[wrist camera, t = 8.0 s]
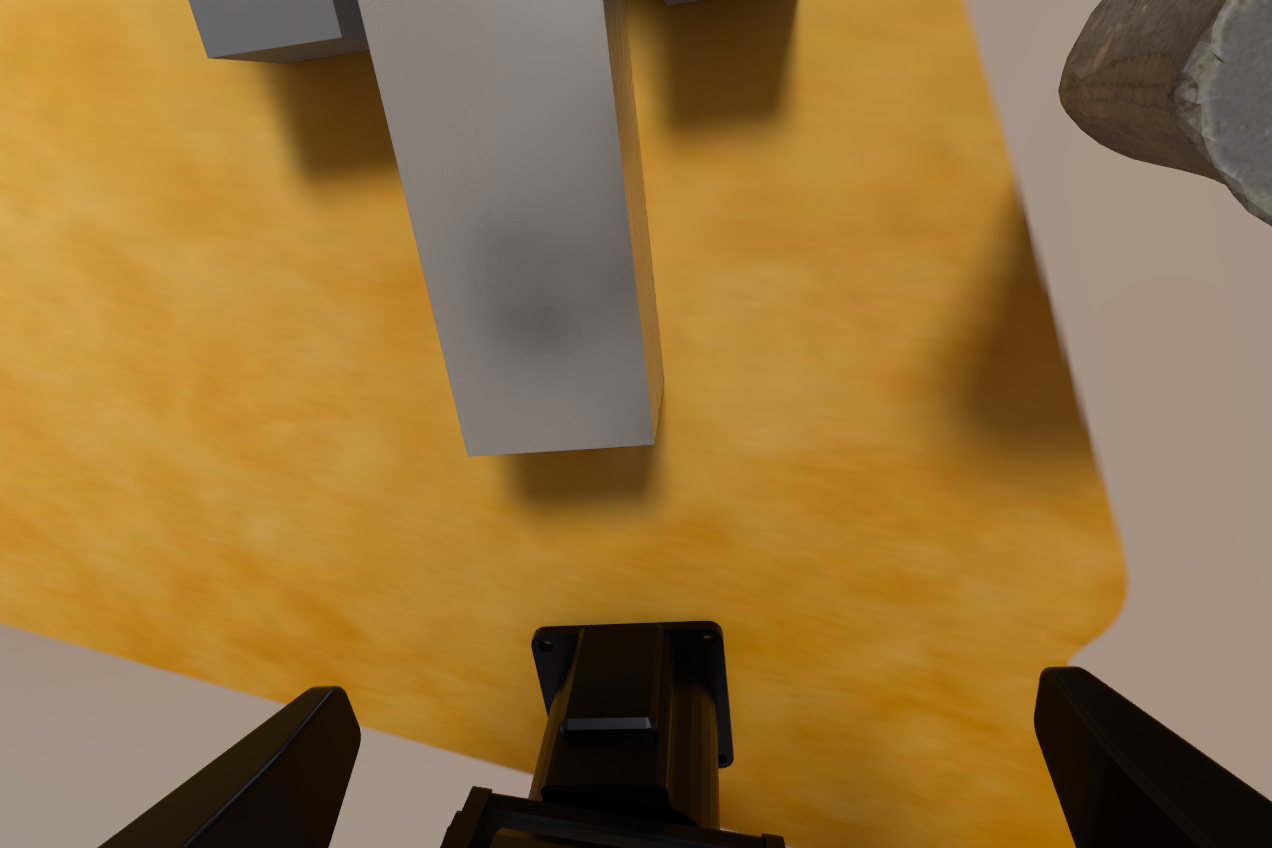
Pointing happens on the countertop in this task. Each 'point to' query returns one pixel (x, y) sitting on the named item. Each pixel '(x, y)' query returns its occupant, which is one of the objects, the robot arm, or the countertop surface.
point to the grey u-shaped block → (284, 28)
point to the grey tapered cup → (1180, 88)
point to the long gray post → (527, 214)
